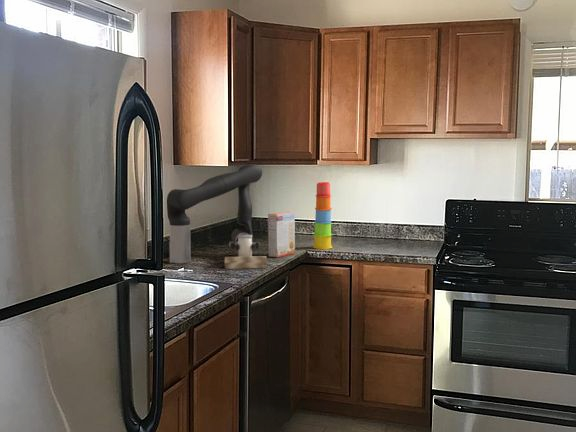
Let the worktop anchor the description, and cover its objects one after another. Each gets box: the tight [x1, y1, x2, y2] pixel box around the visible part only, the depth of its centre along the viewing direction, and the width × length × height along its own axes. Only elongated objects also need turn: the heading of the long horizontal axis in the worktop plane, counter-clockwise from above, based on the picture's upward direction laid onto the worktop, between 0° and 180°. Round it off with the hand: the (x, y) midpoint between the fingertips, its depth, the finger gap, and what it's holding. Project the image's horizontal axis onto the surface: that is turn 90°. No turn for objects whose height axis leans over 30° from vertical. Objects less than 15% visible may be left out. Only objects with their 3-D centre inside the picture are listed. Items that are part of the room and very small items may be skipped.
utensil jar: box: [237, 234, 253, 257], centre depth 273 cm, size 6×6×12 cm
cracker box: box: [267, 211, 296, 258], centre depth 302 cm, size 14×6×21 cm, turn 141°
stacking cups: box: [312, 181, 333, 250], centre depth 326 cm, size 10×10×35 cm
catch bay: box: [224, 255, 268, 270], centre depth 273 cm, size 18×11×5 cm, turn 97°
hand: (245, 247), depth 270 cm, fingers closed on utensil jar, 6 cm apart
